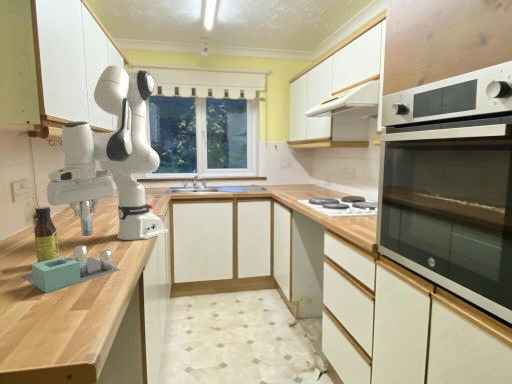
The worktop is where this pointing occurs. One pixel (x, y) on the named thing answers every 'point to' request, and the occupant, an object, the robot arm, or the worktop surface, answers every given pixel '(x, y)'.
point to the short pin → (105, 260)
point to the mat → (93, 272)
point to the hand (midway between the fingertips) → (85, 214)
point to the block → (56, 273)
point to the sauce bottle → (45, 236)
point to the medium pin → (81, 259)
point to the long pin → (86, 218)
